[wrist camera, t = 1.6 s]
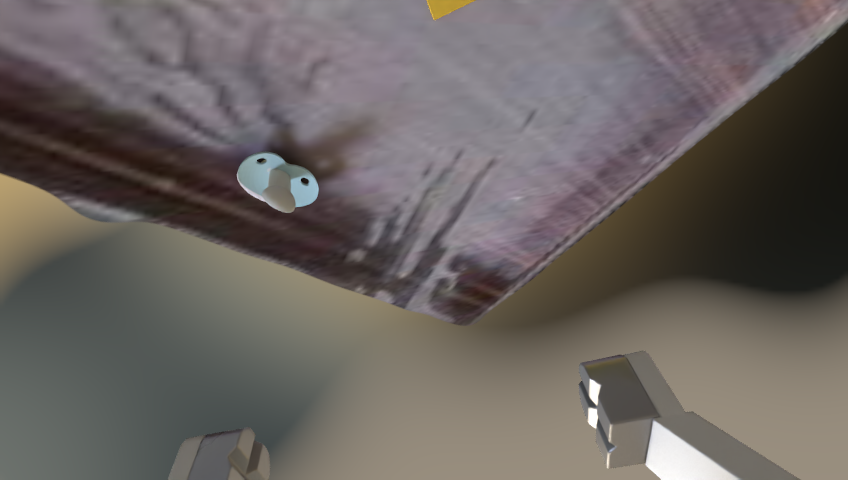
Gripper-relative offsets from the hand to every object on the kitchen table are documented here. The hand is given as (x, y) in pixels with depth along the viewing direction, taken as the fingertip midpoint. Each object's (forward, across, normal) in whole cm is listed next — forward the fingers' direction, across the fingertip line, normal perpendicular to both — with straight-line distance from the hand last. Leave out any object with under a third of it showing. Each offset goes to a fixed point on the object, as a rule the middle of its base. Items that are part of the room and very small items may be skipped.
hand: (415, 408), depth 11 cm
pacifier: (+33, +13, +8) cm, 37 cm away
